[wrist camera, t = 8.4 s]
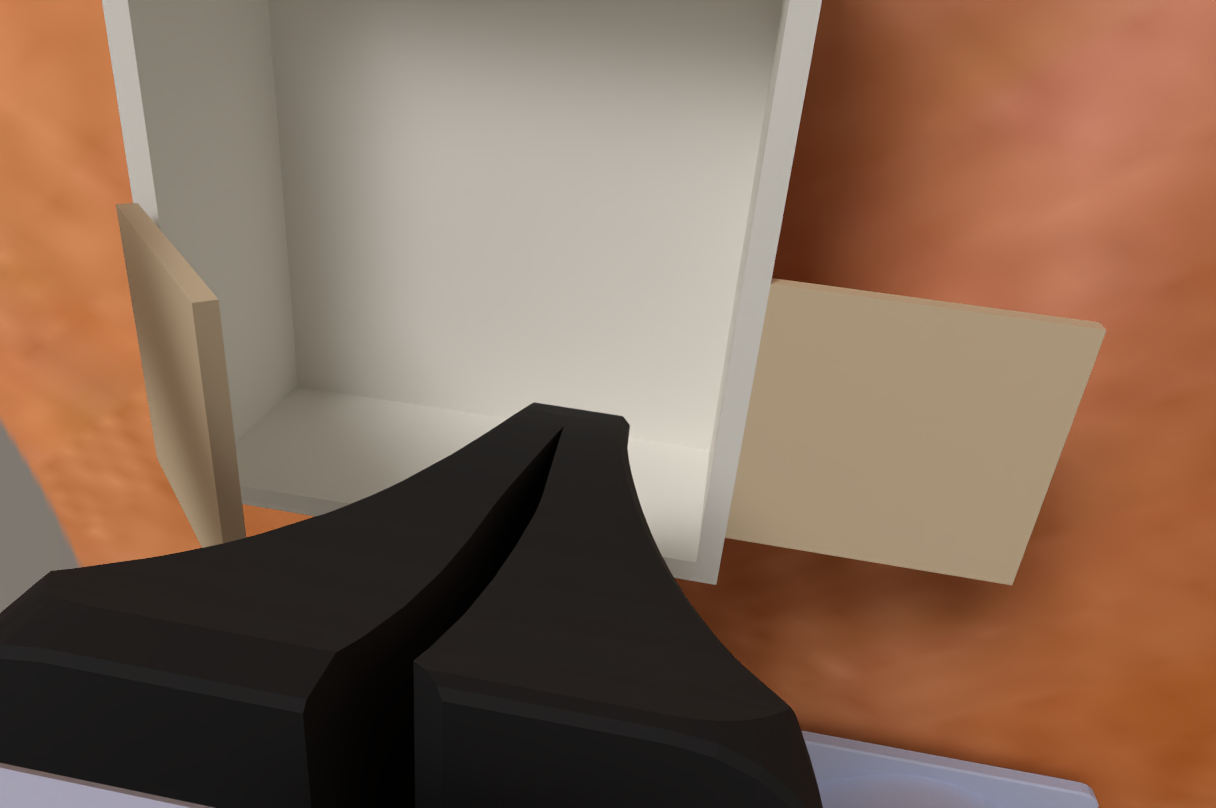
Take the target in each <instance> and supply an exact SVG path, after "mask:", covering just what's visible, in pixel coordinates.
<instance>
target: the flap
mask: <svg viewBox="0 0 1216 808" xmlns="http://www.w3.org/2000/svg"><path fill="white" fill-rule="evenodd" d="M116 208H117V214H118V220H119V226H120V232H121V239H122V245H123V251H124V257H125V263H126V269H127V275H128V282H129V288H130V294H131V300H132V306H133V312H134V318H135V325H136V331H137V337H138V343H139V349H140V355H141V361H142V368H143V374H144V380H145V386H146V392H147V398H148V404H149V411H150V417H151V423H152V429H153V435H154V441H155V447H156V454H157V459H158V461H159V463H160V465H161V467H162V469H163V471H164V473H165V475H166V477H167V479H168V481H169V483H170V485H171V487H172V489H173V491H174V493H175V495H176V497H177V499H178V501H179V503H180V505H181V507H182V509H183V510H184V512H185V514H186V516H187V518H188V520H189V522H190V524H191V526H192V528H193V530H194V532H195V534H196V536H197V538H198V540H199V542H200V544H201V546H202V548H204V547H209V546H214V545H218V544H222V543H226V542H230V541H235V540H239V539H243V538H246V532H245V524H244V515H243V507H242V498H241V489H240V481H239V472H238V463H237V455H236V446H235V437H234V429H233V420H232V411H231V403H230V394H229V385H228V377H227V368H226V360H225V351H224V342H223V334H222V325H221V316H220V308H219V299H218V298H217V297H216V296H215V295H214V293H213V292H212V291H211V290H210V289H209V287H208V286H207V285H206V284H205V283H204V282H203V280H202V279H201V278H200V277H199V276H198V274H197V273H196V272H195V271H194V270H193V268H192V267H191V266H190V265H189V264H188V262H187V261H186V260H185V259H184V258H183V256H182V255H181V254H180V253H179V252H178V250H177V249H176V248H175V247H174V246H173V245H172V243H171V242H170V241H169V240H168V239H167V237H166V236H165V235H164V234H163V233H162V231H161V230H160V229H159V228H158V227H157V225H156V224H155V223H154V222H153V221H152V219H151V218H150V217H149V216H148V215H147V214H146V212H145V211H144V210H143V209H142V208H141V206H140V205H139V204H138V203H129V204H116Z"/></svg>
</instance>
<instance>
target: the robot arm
mask: <svg viewBox="0 0 1216 808" xmlns="http://www.w3.org/2000/svg"><path fill="white" fill-rule="evenodd" d="M629 430H630V425H629V423H628V422H627V421H626V419H625V418H624V417H623V416H619V415H613V414H606V413H600V412H593V411H587V410H580V409H574V408H567V407H561V406H554V405H548V404H541V403H535V402H534V403H532V404H530V405H528V406H527V407H525V408H523V409H522V410H520V411H519V412H517V413H516V414H514V415H513V416H511V417H510V418H508V419H507V420H505V421H504V422H502V423H501V424H499V425H498V426H496V427H494V428H493V429H491V430H490V431H488V432H487V433H485V434H483V435H482V436H480V437H479V438H477V439H475V440H474V441H472V442H471V443H469V444H467V445H466V446H464V447H463V448H461V449H459V450H458V451H456V452H455V453H453V454H451V455H449V456H447V457H446V458H444V459H442V460H440V461H438V462H436V463H435V464H433V465H431V466H429V467H427V468H425V469H424V470H422V471H420V472H418V473H416V474H414V475H412V476H411V477H409V478H407V479H405V480H403V481H401V482H399V483H397V484H395V485H393V486H391V487H389V488H387V489H384V490H382V491H380V492H378V493H376V494H373V495H371V496H369V497H366V498H364V499H361V500H359V501H356V502H354V503H351V504H349V505H347V506H344V507H342V508H339V509H336V510H334V511H331V512H328V513H326V514H322V515H319V516H316V517H313V518H310V519H306V520H303V521H300V522H297V523H294V524H291V525H287V526H284V527H281V528H278V529H275V530H272V531H268V532H265V533H262V534H258V535H255V536H251V537H247V538H243V539H239V540H235V541H230V542H226V543H222V544H218V545H214V546H209V547H204V548H199V549H194V550H190V551H185V552H180V553H175V554H169V555H164V556H158V557H153V558H146V559H139V560H132V561H124V562H117V563H110V564H103V565H96V566H89V567H82V568H75V569H66V570H57V571H50V572H49V573H48V574H47V575H45V576H44V577H43V578H42V579H40V580H39V581H38V582H37V583H36V584H34V585H33V586H32V587H31V588H30V589H28V590H27V591H26V592H25V593H24V594H22V596H20V597H19V598H18V599H17V600H15V601H14V602H13V603H12V604H11V605H9V606H8V607H7V608H6V609H5V610H4V611H2V612H1V613H0V808H1098V807H1099V804H1098V802H1097V799H1096V797H1095V794H1094V792H1093V790H1092V789H1091V788H1090V787H1089V786H1088V785H1086V784H1083V783H1080V782H1076V781H1071V780H1065V779H1060V778H1055V777H1049V776H1044V775H1039V774H1033V773H1028V772H1022V771H1017V770H1012V769H1006V768H1001V767H996V766H990V765H985V764H979V763H974V762H969V761H963V760H958V759H953V758H947V757H942V756H936V755H931V754H926V753H920V752H915V751H910V750H904V749H899V748H894V747H888V746H883V745H877V744H872V743H867V742H861V741H856V740H851V739H845V738H840V737H834V736H829V735H824V734H818V733H813V732H808V731H802V730H801V728H800V726H799V723H798V720H797V717H796V715H795V713H794V711H793V710H792V709H791V707H790V706H789V705H787V704H786V703H785V702H784V701H783V700H782V699H781V698H779V697H778V696H777V695H776V694H775V693H774V692H773V691H772V690H770V689H769V688H768V687H767V686H766V685H765V684H764V683H762V682H761V681H760V680H759V679H758V678H757V677H756V676H754V675H753V674H752V673H751V672H750V671H749V670H748V669H746V668H745V667H744V666H743V665H742V664H741V663H740V662H739V661H738V660H737V659H736V658H735V657H734V656H733V655H732V654H731V653H730V652H729V651H728V650H727V649H726V647H725V646H724V645H723V644H722V643H721V642H720V641H719V640H718V639H717V638H716V636H715V635H714V634H713V632H712V631H711V630H710V628H709V627H708V626H707V624H706V623H705V622H704V621H703V619H702V618H701V617H700V615H699V614H698V613H697V611H696V610H695V609H694V607H693V606H692V605H691V603H690V602H689V601H688V599H687V598H686V596H685V595H684V593H683V591H682V590H681V588H680V586H679V585H678V583H677V582H676V580H675V578H674V577H673V575H672V573H671V572H670V570H669V568H668V566H667V564H666V562H665V560H664V559H663V557H662V555H661V553H660V551H659V549H658V547H657V545H656V542H655V540H654V538H653V536H652V533H651V531H650V528H649V526H648V523H647V521H646V518H645V516H644V513H643V510H642V507H641V505H640V502H639V499H638V495H637V491H636V488H635V484H634V481H633V477H632V473H631V468H630V463H629V457H628V449H627V448H628V439H629Z"/></svg>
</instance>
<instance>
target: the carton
mask: <svg viewBox="0 0 1216 808" xmlns="http://www.w3.org/2000/svg"><path fill="white" fill-rule="evenodd" d="M102 3H103V10H104V16H105V23H106V29H107V36H108V42H109V49H110V55H111V62H112V68H113V75H114V81H115V88H116V94H117V101H118V107H119V114H120V120H121V127H122V133H123V140H124V146H125V153H126V159H127V166H128V172H129V179H130V185H131V192H132V198H133V203H138V204H139V205H140V206H141V208H142V209H143V210H144V211H145V212H146V214H147V215H148V216H149V217H150V218H151V219H152V221H153V222H154V223H155V224H156V225H157V227H158V228H159V229H160V230H161V231H162V233H163V234H164V235H165V236H166V237H167V239H168V240H169V241H170V242H171V243H172V245H173V246H174V247H175V248H176V249H177V250H178V252H179V253H180V254H181V255H182V256H183V258H184V259H185V260H186V261H187V262H188V264H189V265H190V266H191V267H192V268H193V270H194V271H195V272H196V273H197V274H198V276H199V277H200V278H201V279H202V280H203V282H204V283H205V284H206V285H207V286H208V287H209V289H210V290H211V291H212V292H213V293H214V295H215V296H216V297H217V298H218V299H219V308H220V316H221V325H222V334H223V342H224V351H225V360H226V368H227V377H228V385H229V394H230V403H231V411H232V420H233V429H234V437H235V446H236V455H237V463H238V472H239V481H240V489H241V498H242V504H246V505H252V506H258V507H264V508H270V509H276V510H281V511H287V512H293V513H299V514H305V515H311V516H319V515H322V514H326V513H328V512H331V511H334V510H336V509H339V508H342V507H344V506H347V505H349V504H351V503H354V502H356V501H359V500H361V499H364V498H366V497H369V496H371V495H373V494H376V493H378V492H380V491H382V490H384V489H387V488H389V487H391V486H393V485H395V484H397V483H399V482H401V481H403V480H405V479H407V478H409V477H411V476H412V475H414V474H416V473H418V472H420V471H422V470H424V469H425V468H427V467H429V466H431V465H433V464H435V463H436V462H438V461H440V460H442V459H444V458H446V457H447V456H449V455H451V454H453V453H455V452H456V451H458V450H459V449H461V448H463V447H464V446H466V445H467V444H469V443H471V442H472V441H474V440H475V439H477V438H479V437H480V436H482V435H483V434H485V433H487V432H488V431H490V430H491V429H493V428H494V427H496V426H498V425H499V424H501V423H502V422H504V421H505V420H507V419H508V418H510V417H511V416H513V415H514V414H516V413H517V412H519V411H520V410H522V409H523V408H525V407H527V406H528V405H530V404H532V403H534V402H535V403H541V404H548V405H554V406H561V407H567V408H574V409H580V410H587V411H593V412H600V413H606V414H613V415H619V416H623V417H624V418H625V419H626V421H627V422H628V423H629V425H630V430H629V439H628V448H627V449H628V457H629V463H630V468H631V473H632V477H633V481H634V484H635V488H636V491H637V495H638V499H639V502H640V505H641V507H642V510H643V513H644V516H645V518H646V521H647V523H648V526H649V528H650V531H651V533H652V536H653V538H654V540H655V542H656V545H657V547H658V549H659V551H660V553H661V555H662V557H663V559H664V560H665V562H666V564H667V566H668V568H669V570H670V572H671V573H672V575H673V577H674V578H678V579H684V580H690V581H696V582H702V583H707V584H713V585H716V584H717V578H718V573H719V567H720V562H721V556H722V551H723V545H724V540H725V538H729V539H735V540H741V541H747V542H754V543H760V544H766V545H772V546H778V547H784V548H790V549H796V550H802V551H808V552H814V553H820V554H826V555H832V556H838V557H844V558H850V559H856V560H862V561H868V562H874V563H880V564H886V565H892V566H898V567H904V568H910V569H916V570H922V571H928V572H934V573H940V574H947V575H953V576H959V577H965V578H971V579H977V580H983V581H989V582H995V583H1001V584H1007V585H1012V584H1013V582H1014V579H1015V576H1016V574H1017V571H1018V568H1019V566H1020V563H1021V560H1022V557H1023V555H1024V552H1025V549H1026V547H1027V544H1028V541H1029V539H1030V536H1031V533H1032V530H1033V528H1034V525H1035V522H1036V520H1037V517H1038V514H1039V511H1040V509H1041V506H1042V503H1043V501H1044V498H1045V495H1046V493H1047V490H1048V487H1049V484H1050V482H1051V479H1052V476H1053V474H1054V471H1055V468H1056V465H1057V463H1058V460H1059V457H1060V455H1061V452H1062V449H1063V447H1064V444H1065V441H1066V438H1067V436H1068V433H1069V430H1070V428H1071V425H1072V422H1073V419H1074V417H1075V414H1076V411H1077V409H1078V406H1079V403H1080V401H1081V398H1082V395H1083V392H1084V390H1085V387H1086V384H1087V382H1088V379H1089V376H1090V373H1091V371H1092V368H1093V365H1094V363H1095V360H1096V357H1097V355H1098V352H1099V349H1100V346H1101V344H1102V341H1103V338H1104V336H1105V333H1106V329H1105V328H1104V327H1103V326H1102V325H1101V323H1100V322H1093V321H1086V320H1078V319H1071V318H1063V317H1056V316H1049V315H1041V314H1034V313H1026V312H1019V311H1012V310H1004V309H997V308H990V307H982V306H975V305H967V304H960V303H953V302H945V301H938V300H930V299H923V298H916V297H908V296H901V295H893V294H886V293H879V292H871V291H864V290H857V289H849V288H842V287H834V286H827V285H820V284H812V283H805V282H797V281H790V280H783V279H775V278H772V274H773V269H774V263H775V258H776V252H777V247H778V241H779V236H780V230H781V224H782V219H783V213H784V208H785V202H786V197H787V191H788V186H789V180H790V175H791V169H792V164H793V158H794V153H795V147H796V141H797V136H798V130H799V125H800V119H801V114H802V108H803V103H804V97H805V92H806V86H807V81H808V75H809V70H810V64H811V59H812V53H813V47H814V42H815V36H816V31H817V25H818V20H819V14H820V9H821V3H822V0H102Z"/></svg>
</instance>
